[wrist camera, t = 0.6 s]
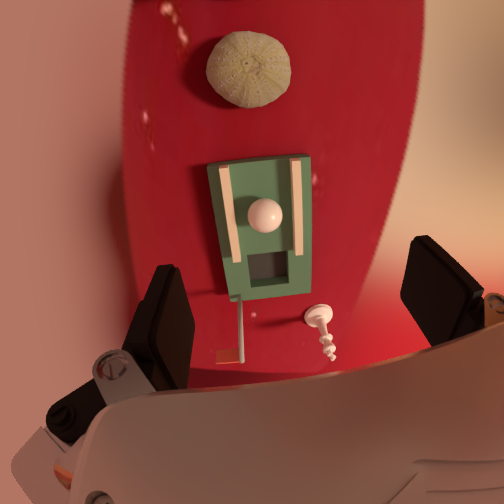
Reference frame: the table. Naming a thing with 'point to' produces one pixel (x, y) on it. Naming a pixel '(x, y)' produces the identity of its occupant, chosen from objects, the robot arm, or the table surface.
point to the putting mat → (257, 243)
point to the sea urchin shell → (249, 69)
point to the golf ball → (265, 215)
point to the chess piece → (321, 326)
